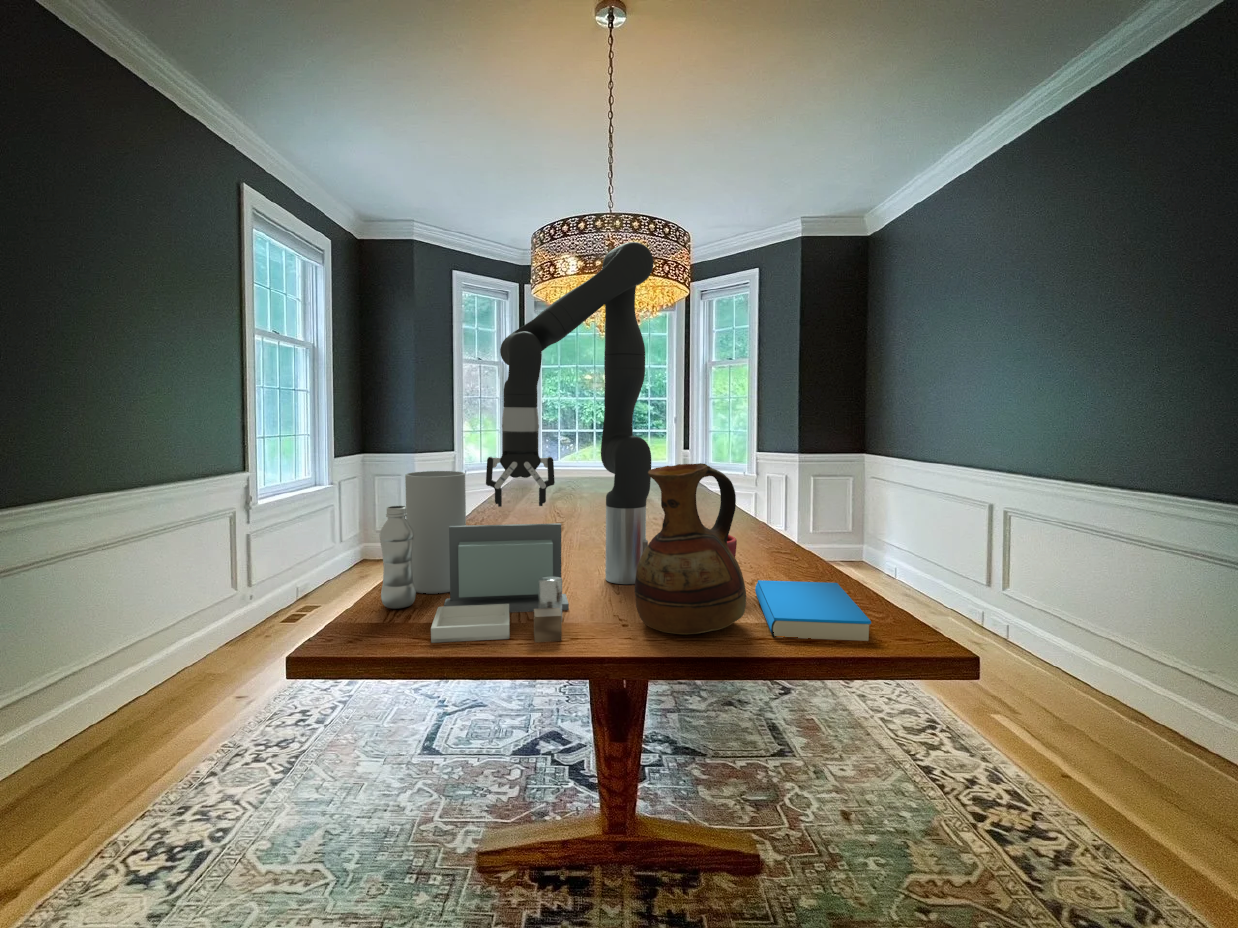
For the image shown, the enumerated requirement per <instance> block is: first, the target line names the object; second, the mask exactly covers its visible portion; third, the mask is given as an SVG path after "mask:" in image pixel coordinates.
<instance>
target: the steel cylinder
mask: <svg viewBox="0 0 1238 928" xmlns="http://www.w3.org/2000/svg"><path fill="white" fill-rule="evenodd" d="M562 594H563V578H562V577H561V578H560V577H555V576H548V577H542V578H539V579H538V609H541V608H560V612H561V616H562V617H563V610H562Z"/></svg>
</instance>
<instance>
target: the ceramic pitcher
mask: <svg viewBox="0 0 1238 928" xmlns="http://www.w3.org/2000/svg"><path fill="white" fill-rule="evenodd" d="M648 475H649V476H650V477H651V479H652V480H653V481H654V482H655V483H656V484H657V485H658V487H659V491H660V497H661V499H660V506H661V508H662V511H663V513H664V517H663V521H662V527H661V530H660V531H659V532H658V533H657V534H656V535H655V536H654V537H652V539H651V540H650V542H648V546H647V547H646V549H645V550H644V552H643V554H642V555H641V558H640V561H639V563H638V567H637V571H636V579H635V584H634V598H635V607H636V611H637V613H638V616H639V618H640V621H642V623H643V624H645V625H646V626H648V627H649V628H650V629H653V630H656V631H660V632H662V633H668V634H675V635H676V634H677V635H692V634H693V635H694V634H701V633H702V634H703V633H708V632H712V631H718V630H722V629H725V628H727V627H729V626H731V625H732V624H733V623H735V622H737V621H739V620H740V619H742V617H743V616H744V614H745V612H746V607H747V606H746V605H747V590H746V585H745V579H744V577H743V572H742V569H741V567H740V565H739V563H738V561H737V559H736V556H735V557H734V556H733V554H732V553H731V551H730V550H729V548H728V546H727V538H728V535H730V531H731V527H732V524H733V520H734V517H735V511H736V506H737V505H736V504H737V494H736V490H735V487H734V484H733V482H732V480H730V478H729V477H728V476H727V475H726V474H724V473H723V472H721V471H720V470H718V469H715V468H713V467H712V466H710V465H708V464H706V463H683V464H681V463H680V464H679V463H678V464H676V465H664V466H659V467H655V468H651V469H650V470H649V471H648ZM707 477H713V478H714V479H715V480H716V482H717V484H718V488H719V492H720V493H719V494H720V506H719V511H718V515H717V516H716V520H715V522H714V524H713V525H712V527H711V528H709V527H706V526H705V525H704V524H703V522H702V520H701V518H700V516H699V511H698V506H697V488H698V486H699V483H700V482H701V480H703V479H704V478H707Z"/></svg>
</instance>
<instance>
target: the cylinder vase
mask: <svg viewBox="0 0 1238 928" xmlns="http://www.w3.org/2000/svg"><path fill="white" fill-rule="evenodd" d="M404 478H405V483H404V484H405V485H404V486H405V506H406V513H407V516H405V519H406V520H407V521H408V523H409V524H410V525H411V527H412V529H413V532H414V538H413V548H412V559H411V561H412V573H413V582H414V585H415V590H416V594H417V593H419V594H423V593H426V595H434V594H435V595H436V594H437V595H438V593H439V594H445V593H446V594H448V593H450V553H449V526H463V525H467V513H466V512H467V511H466V509H467V506H466V500H467V499H466V472H464V471H454V470H427V471H424V470H423V471H414V472H408V473H405V476H404Z"/></svg>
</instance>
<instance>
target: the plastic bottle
mask: <svg viewBox="0 0 1238 928" xmlns="http://www.w3.org/2000/svg"><path fill="white" fill-rule="evenodd" d="M406 516H407V513H406V505H389V506H387V507H386V514H385V517H386V518H387V520H386V521H385V522H384V524H383V525H382V527H381V529H380V531H379V540H380V541H379V543H380V548H381V553H382V554H381V555H382V562H383V575H382V586H381V591H380V592H381V593H380V598H381V599H380V600H381V603H382V605H383V606H384V607H385V608H387V609H395V610H396V609H403V608H407V607H410V606H412V605H413V604H414V602H415V600H416V596H417V592H416V590H415V585H414V582H413V573H412V561H411V559H412V548H413V538H414V532H413V529H412V527H411V525H410V524H409V523H408V521H407V520H406Z"/></svg>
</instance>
